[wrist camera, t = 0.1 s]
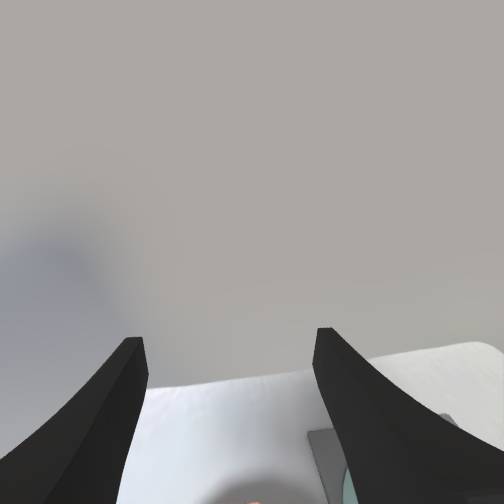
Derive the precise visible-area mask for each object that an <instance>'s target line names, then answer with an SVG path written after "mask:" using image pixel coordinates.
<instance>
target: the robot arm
mask: <svg viewBox="0 0 504 504" xmlns="http://www.w3.org/2000/svg"><path fill="white" fill-rule="evenodd" d="M312 365H313V369H314V373H315V377H316V380H317V384H318V388H319V390H320V393H321V396H322V398H323V401H324V403H325V406H326V408H327V411H328V413H329V416H330V418H331V421H332V423H333V426H334V429H335V431H336V434H337V436H338V439H339V441H340V444H341V447H342V450H343V452H344V456H345V459H346V462H347V466H348V469H349V472H350V476H351V479H352V483H353V486H354V490H355V494H356V497H357V501H358V504H504V451H502V450H500V449H498V448H496V447H494V446H492V445H490V444H488V443H486V442H484V441H482V440H480V439H478V438H477V437H475V436H473V435H471V434H469V433H468V432H466V431H464V430H462V429H460V428H459V427H457V426H455V425H454V424H452V423H450V422H449V421H447V420H445V419H444V418H442V417H441V416H439V415H437V414H436V413H434V412H433V411H431V410H430V409H428V408H427V407H425V406H424V405H422V404H421V403H419V402H418V401H416V400H415V399H414V398H412V397H411V396H409V395H408V394H407V393H405V392H404V391H403V390H401V389H400V388H398V387H397V386H396V385H395V384H393V383H392V382H391V381H390V380H388V379H387V378H386V377H385V376H384V375H382V374H381V373H380V372H379V371H378V370H376V369H375V368H374V367H373V366H372V365H371V364H370V363H368V362H367V361H366V360H365V359H364V358H363V357H362V356H361V355H360V354H358V353H357V351H355V350H354V349H353V348H352V347H351V346H350V345H349V344H348V343H347V342H346V341H345V340H344V339H343V338H342V337H341V336H340V335H339V334H338V333H337V332H336V331H335V330H334V329H333V328H318V331H317V337H316V344H315V350H314V357H313V363H312ZM148 375H149V373H148V367H147V362H146V356H145V351H144V344H143V339H142V337H129V338H125V339H124V340H123V342H122V343H121V344H120V345H119V346H118V348H117V349H116V350H115V351H114V352H113V353H112V355H111V356H110V357H109V358H108V359H107V360H106V362H105V363H104V364H103V365H102V366H101V367H100V368H99V370H98V371H97V372H96V373H95V374H94V375H93V376H92V377H91V378H90V380H89V381H88V382H87V383H86V384H85V385H84V386H83V387H82V388H81V389H80V390H79V391H78V392H77V393H76V394H75V395H74V396H73V398H71V399H70V400H69V401H68V402H67V403H66V404H65V405H64V406H63V407H62V408H61V409H60V410H59V411H58V412H57V413H56V414H55V415H54V416H52V417H51V418H50V419H49V420H48V421H47V422H46V423H45V424H44V425H42V426H41V427H40V428H39V429H38V430H37V431H35V432H34V433H33V434H32V435H31V436H29V437H28V438H27V439H26V440H24V441H23V442H22V443H21V444H20V445H18V446H17V447H16V448H14V449H13V450H12V451H11V452H9V453H8V454H7V455H6V456H4V457H3V458H2V459H0V504H116V501H117V496H118V492H119V487H120V482H121V477H122V473H123V469H124V466H125V462H126V458H127V455H128V452H129V448H130V445H131V442H132V439H133V435H134V432H135V429H136V425H137V422H138V419H139V415H140V412H141V409H142V405H143V402H144V398H145V392H146V387H147V381H148Z"/></svg>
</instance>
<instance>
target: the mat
mask: <svg viewBox="0 0 504 504" xmlns="http://www.w3.org/2000/svg"><path fill="white" fill-rule="evenodd" d="M441 417H442V418H444V419H445V420H447V421H449V422H450V423H452V424H454V425H455V426H457V427H458V425H457V424H456V423H455V422H454V420H453V419H452V418H451V417H450V416H449V415H442V416H441ZM307 436H308V439H309V442H310V446H311V449H312V452H313V455H314V458H315V461H316V465H317V468H318V471H319V474H320V477H321V480H322V484H323V487H324V490H325V493H326V496H327V499H328V503H329V504H343V502H342V498H343V485H344V479H345V474H346V471H347V468H348V466H347V462H346V459H345V456H344V452H343V450H342V447H341V444H340V441H339V439H338V436H337V434H336V431H335V429H327V430H319V431H310V432H308V433H307Z"/></svg>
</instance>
